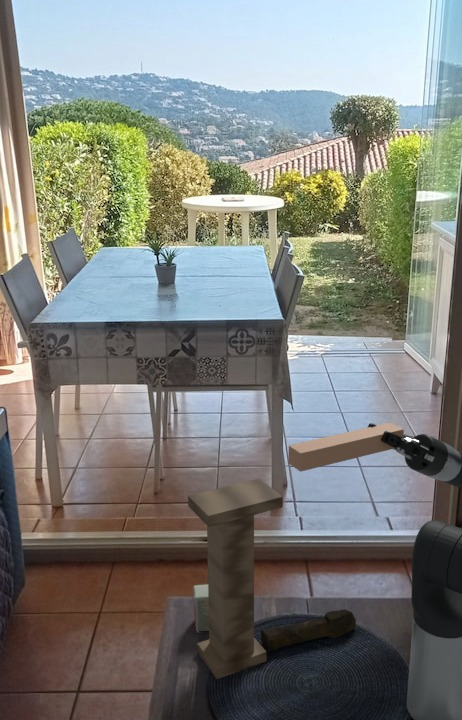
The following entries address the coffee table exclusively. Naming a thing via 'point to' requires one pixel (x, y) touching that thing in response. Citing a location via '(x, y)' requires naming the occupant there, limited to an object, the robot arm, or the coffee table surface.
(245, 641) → the stand
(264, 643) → the hand tool
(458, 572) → the robot arm
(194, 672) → the coffee table surface
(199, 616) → the small box
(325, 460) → the bar
